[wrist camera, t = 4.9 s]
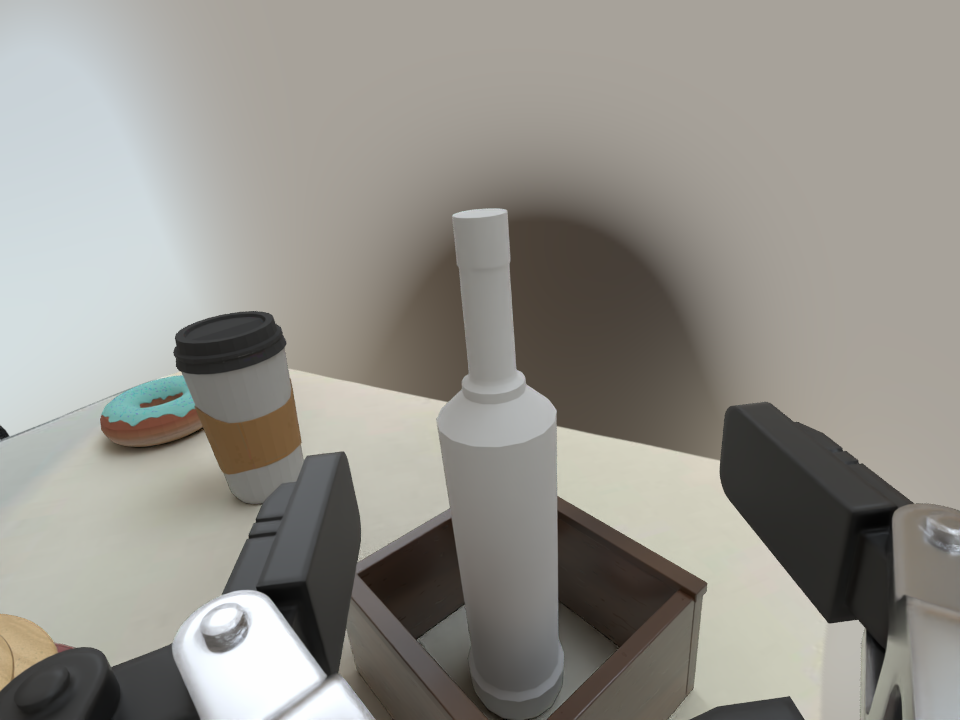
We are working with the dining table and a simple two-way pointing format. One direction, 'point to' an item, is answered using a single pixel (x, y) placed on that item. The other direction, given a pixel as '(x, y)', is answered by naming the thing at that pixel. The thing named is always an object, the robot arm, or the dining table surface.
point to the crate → (581, 587)
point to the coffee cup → (243, 399)
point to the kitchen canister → (23, 646)
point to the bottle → (502, 488)
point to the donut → (151, 414)
